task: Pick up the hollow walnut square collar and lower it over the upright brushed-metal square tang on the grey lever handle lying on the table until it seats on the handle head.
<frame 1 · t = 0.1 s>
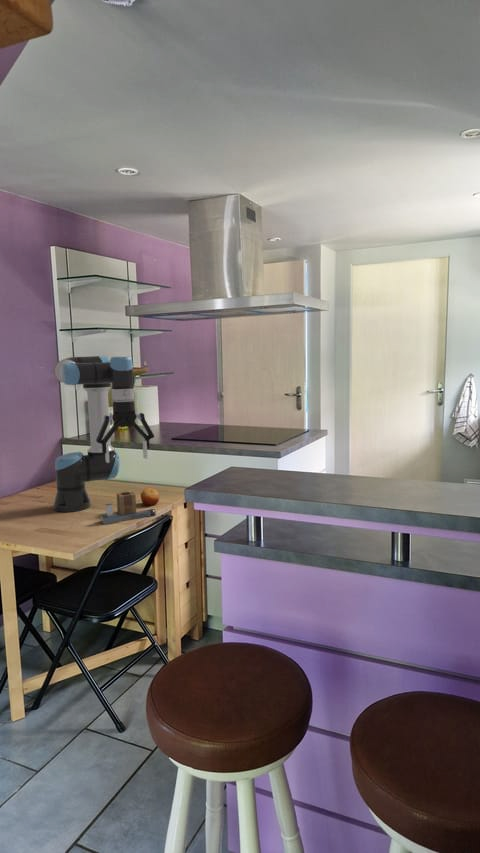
hand: (126, 460, 192), 28 cm above the table, fingers open, 13 cm apart
grey lever handle: (109, 521, 213), on the table
socket collar: (126, 512, 225), on the table
fruit: (150, 504, 236), on the table
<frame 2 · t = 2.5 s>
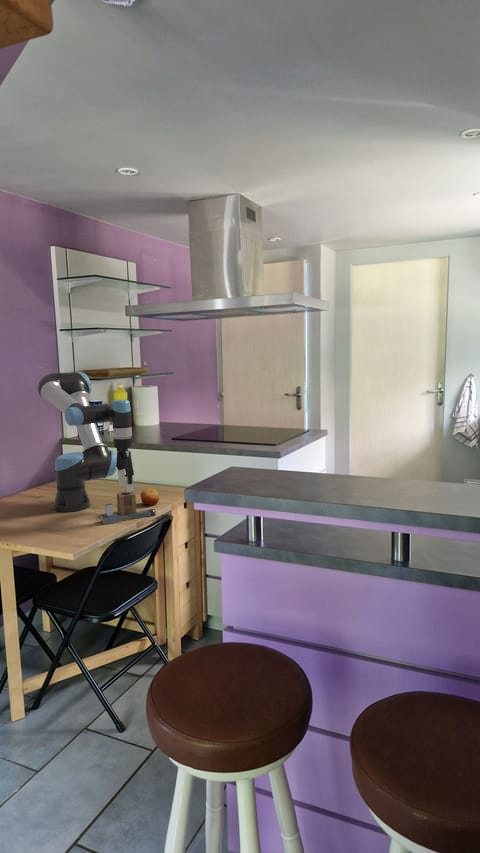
hand: (126, 488, 223), 10 cm above the table, fingers open, 13 cm apart
nothing on the table moved.
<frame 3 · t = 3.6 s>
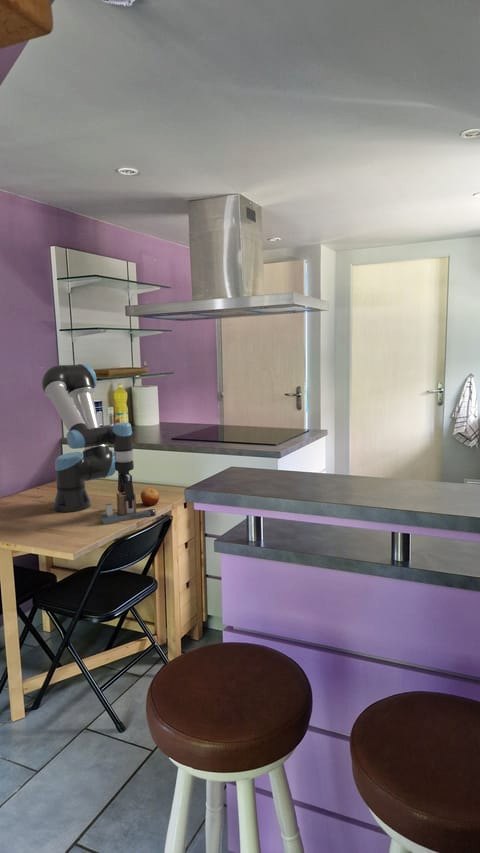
hand: (126, 511, 225), 0 cm above the table, fingers open, 11 cm apart
nothing on the table moved.
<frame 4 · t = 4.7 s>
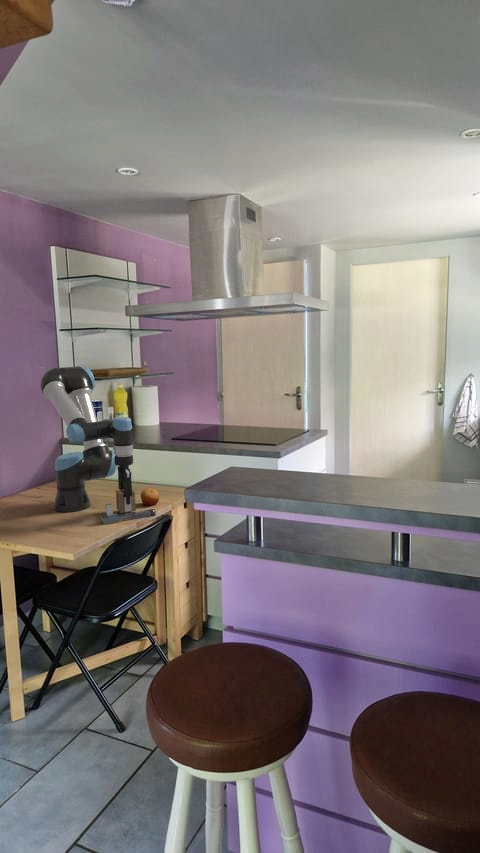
hand: (126, 508, 225), 1 cm above the table, fingers closed on socket collar, 6 cm apart
socket collar: (126, 509, 225), point 1 cm above the table, touching gripper
everything else where it was.
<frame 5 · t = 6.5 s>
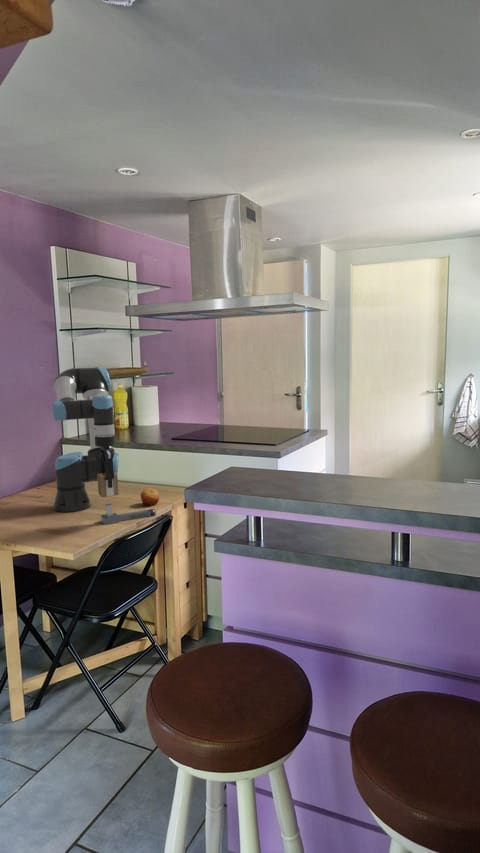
hand: (108, 493, 211), 11 cm above the table, fingers closed on socket collar, 6 cm apart
socket collar: (108, 494, 211), point 11 cm above the table, touching gripper
everything else where it was.
when the fingers open (3 cm above the table, at t = 8.1 s): socket collar stays where it is, resting on grey lever handle.
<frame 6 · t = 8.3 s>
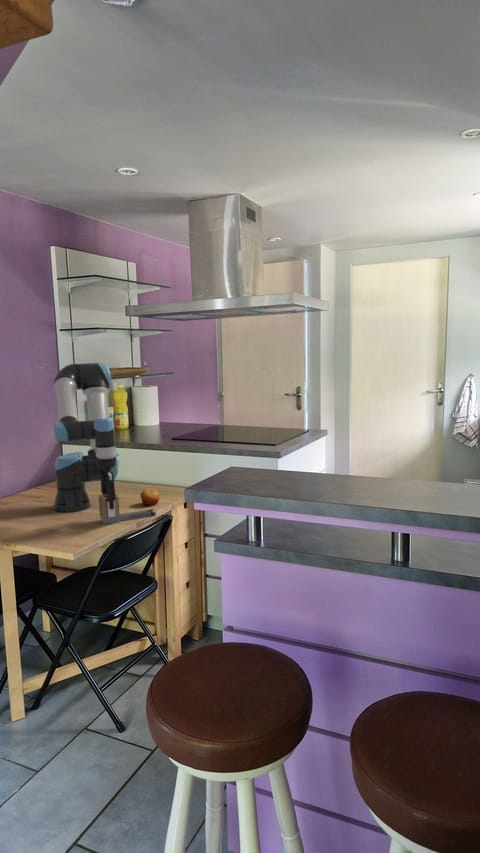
hand: (109, 513, 212), 3 cm above the table, fingers open, 8 cm apart
socket collar: (109, 515, 213), point 2 cm above the table, touching grey lever handle
everything else where it was.
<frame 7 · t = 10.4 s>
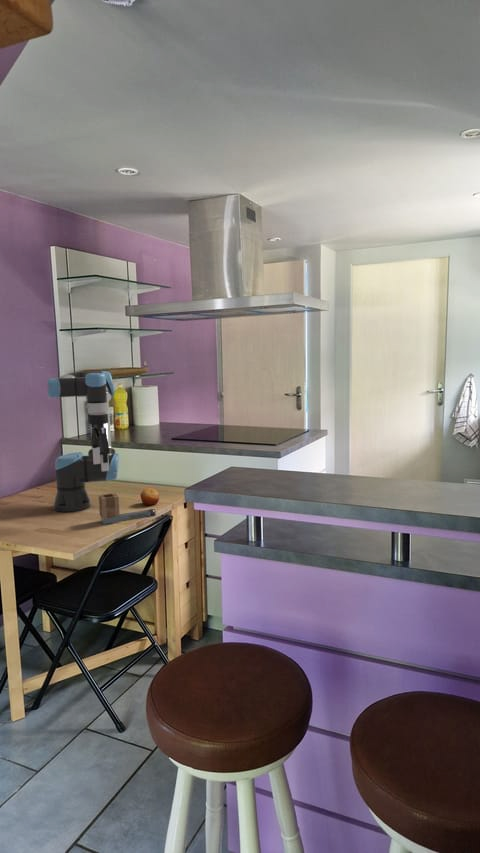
hand: (101, 467, 211), 22 cm above the table, fingers open, 13 cm apart
nothing on the table moved.
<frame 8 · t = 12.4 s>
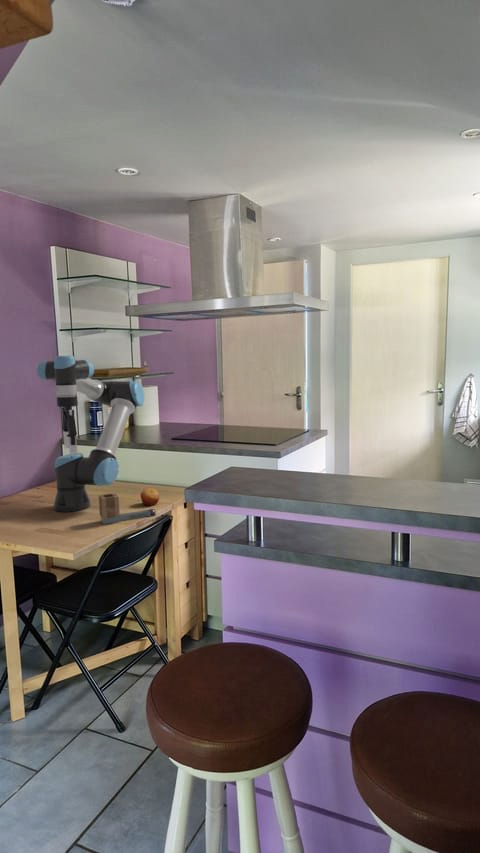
hand: (70, 450, 210), 29 cm above the table, fingers open, 13 cm apart
nothing on the table moved.
at the end: socket collar 0.1 cm off-centre on the grey lever handle, point 2.5 cm above the grey lever handle's base; socket collar tilted 0°; the gripper is holding nothing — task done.
